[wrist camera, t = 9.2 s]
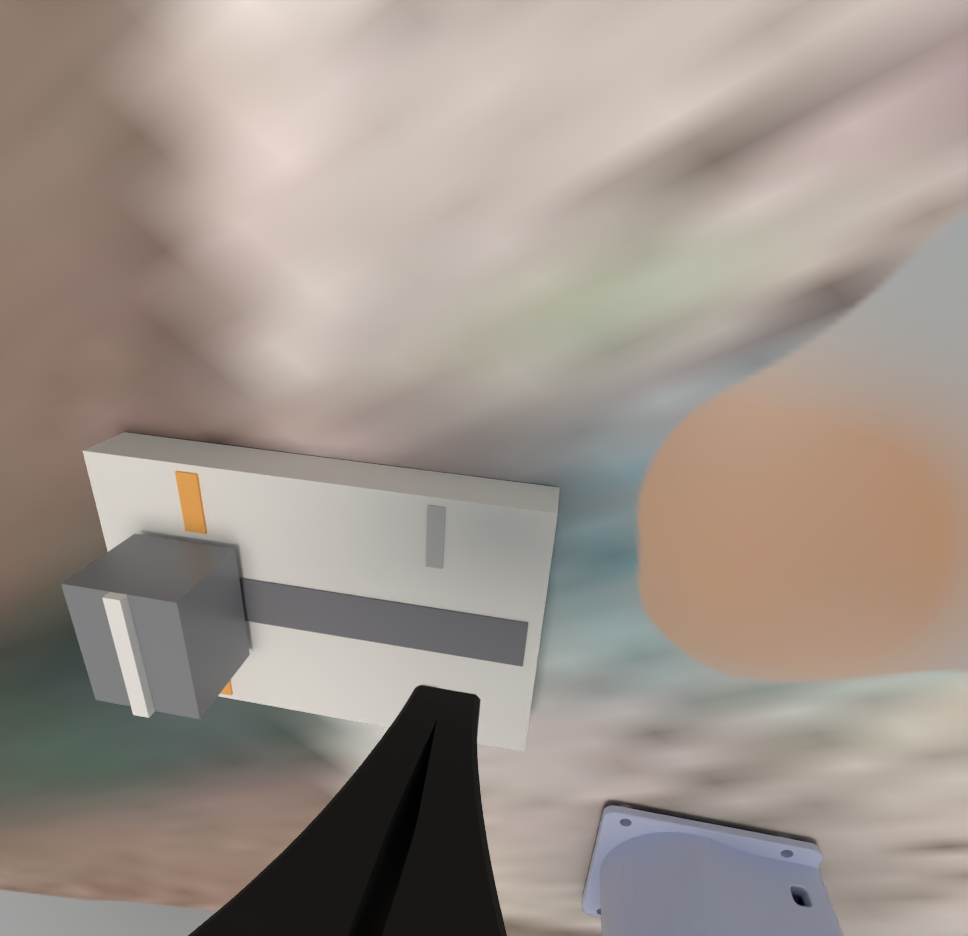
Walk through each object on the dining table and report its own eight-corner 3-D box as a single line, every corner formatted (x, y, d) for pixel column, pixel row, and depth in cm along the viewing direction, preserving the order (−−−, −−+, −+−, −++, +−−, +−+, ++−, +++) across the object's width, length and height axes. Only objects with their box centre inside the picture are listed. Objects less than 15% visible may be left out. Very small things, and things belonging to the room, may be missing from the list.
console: (559, 487, 19) (557, 515, 18) (528, 712, 24) (524, 754, 22) (124, 432, 21) (80, 451, 19) (171, 650, 26) (138, 683, 24)
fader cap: (235, 548, 20) (170, 608, 17) (249, 654, 22) (194, 726, 19) (134, 533, 20) (53, 589, 17) (158, 639, 22) (88, 706, 19)
